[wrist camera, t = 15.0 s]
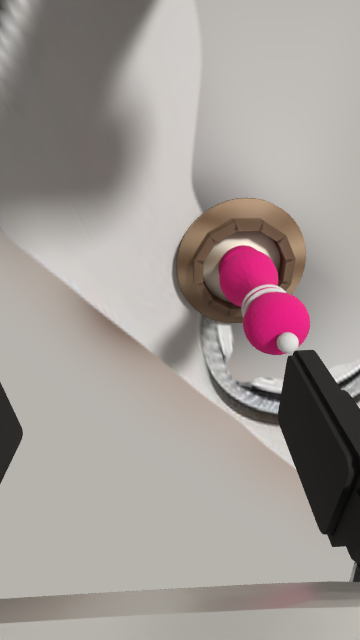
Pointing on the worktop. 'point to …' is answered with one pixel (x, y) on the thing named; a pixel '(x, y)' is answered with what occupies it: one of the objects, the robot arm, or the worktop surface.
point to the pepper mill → (263, 301)
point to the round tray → (228, 232)
